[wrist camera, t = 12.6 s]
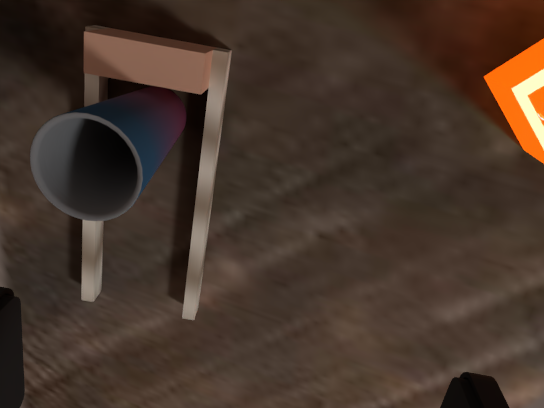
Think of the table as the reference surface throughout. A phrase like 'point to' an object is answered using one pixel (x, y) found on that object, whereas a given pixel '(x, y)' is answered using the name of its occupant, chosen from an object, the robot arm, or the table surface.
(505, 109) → the orange juice
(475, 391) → the robot arm
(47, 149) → the cup
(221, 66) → the track
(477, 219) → the table surface
